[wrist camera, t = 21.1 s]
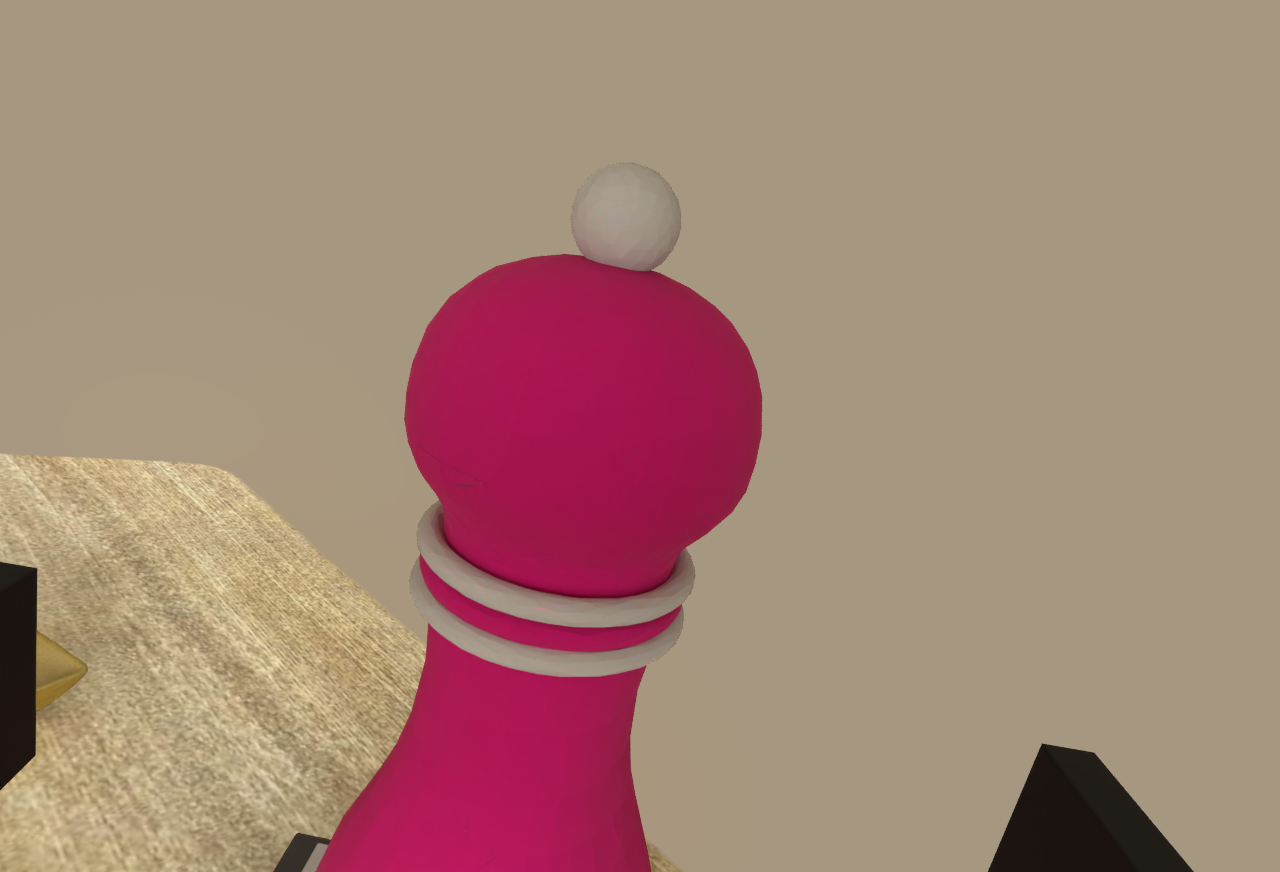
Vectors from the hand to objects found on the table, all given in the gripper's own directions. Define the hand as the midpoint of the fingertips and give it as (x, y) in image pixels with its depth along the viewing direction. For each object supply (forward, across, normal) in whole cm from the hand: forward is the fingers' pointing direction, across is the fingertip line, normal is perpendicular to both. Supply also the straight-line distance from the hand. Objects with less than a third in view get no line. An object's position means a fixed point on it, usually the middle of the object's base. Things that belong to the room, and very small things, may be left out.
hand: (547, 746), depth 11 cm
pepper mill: (+4, 0, -13) cm, 13 cm away
